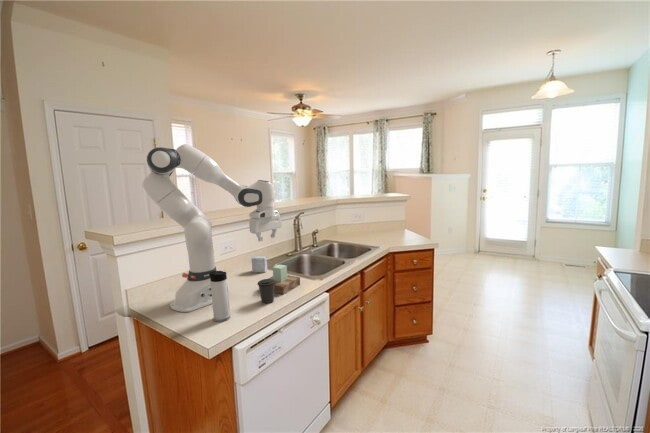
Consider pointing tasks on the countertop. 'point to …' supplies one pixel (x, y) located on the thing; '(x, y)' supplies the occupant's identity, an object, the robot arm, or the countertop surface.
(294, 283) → the walnut base
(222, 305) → the travel mug
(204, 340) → the countertop surface
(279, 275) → the sage block
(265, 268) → the medicine box
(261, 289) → the coffee cup
